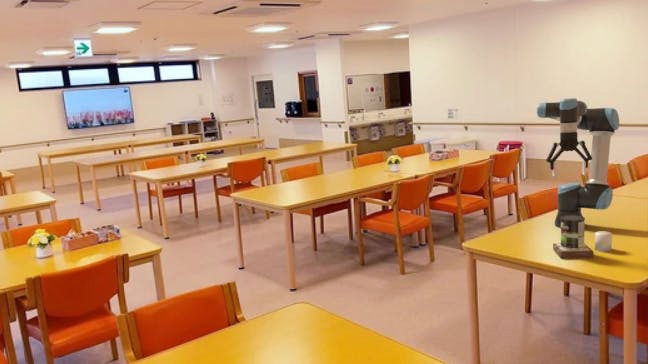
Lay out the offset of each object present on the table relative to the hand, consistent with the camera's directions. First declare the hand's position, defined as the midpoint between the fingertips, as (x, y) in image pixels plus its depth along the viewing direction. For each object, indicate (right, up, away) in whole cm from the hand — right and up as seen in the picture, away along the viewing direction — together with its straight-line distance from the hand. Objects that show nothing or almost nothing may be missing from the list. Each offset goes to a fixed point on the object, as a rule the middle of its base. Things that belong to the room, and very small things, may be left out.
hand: (569, 175), depth 263 cm
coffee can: (-1, -33, -7) cm, 34 cm away
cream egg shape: (+14, -35, -4) cm, 38 cm away
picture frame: (-1, -36, -7) cm, 37 cm away
